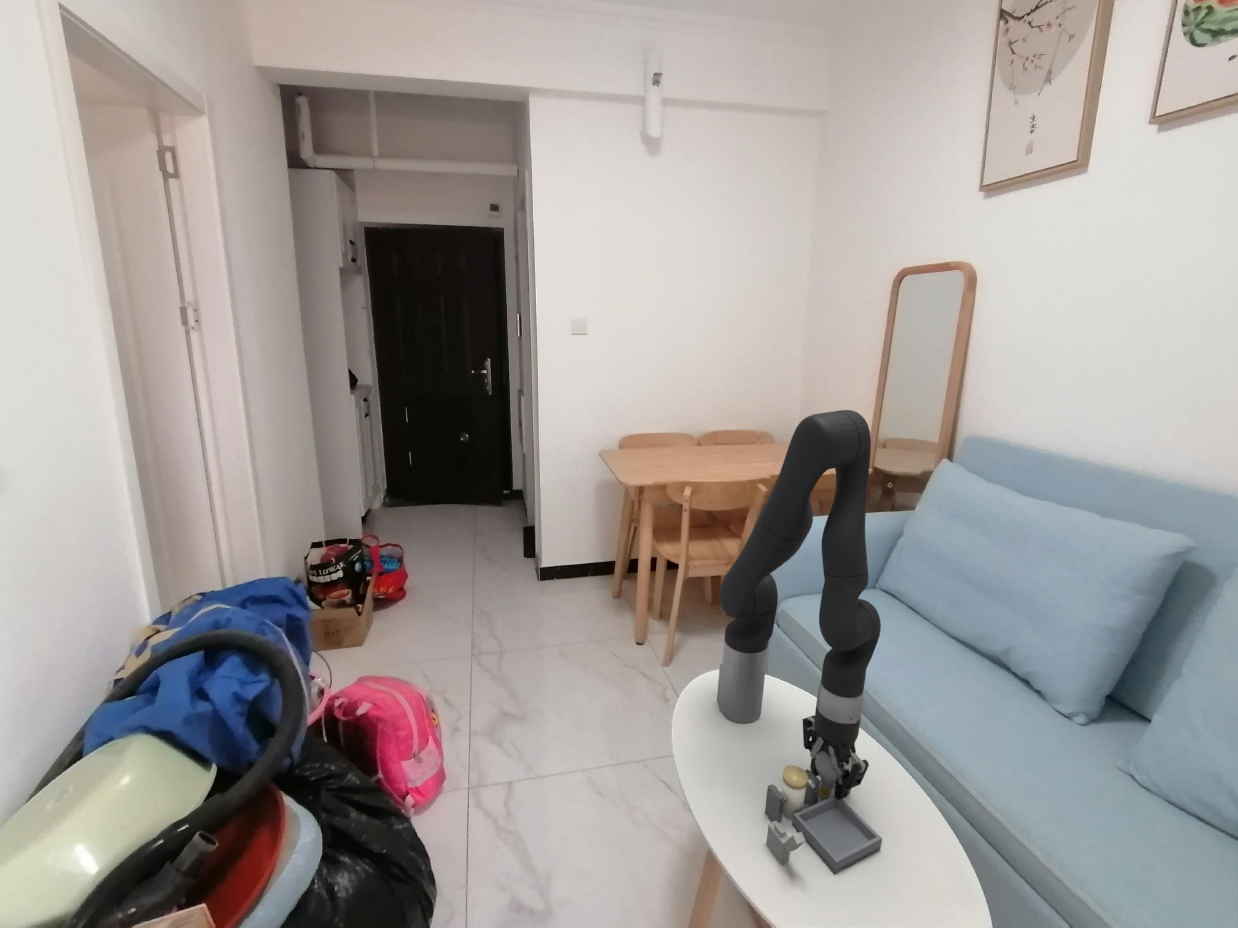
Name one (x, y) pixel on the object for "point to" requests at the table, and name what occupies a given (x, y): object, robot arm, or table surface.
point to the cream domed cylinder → (793, 790)
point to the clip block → (777, 799)
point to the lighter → (782, 841)
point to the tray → (836, 833)
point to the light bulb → (826, 773)
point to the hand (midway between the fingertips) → (827, 785)
